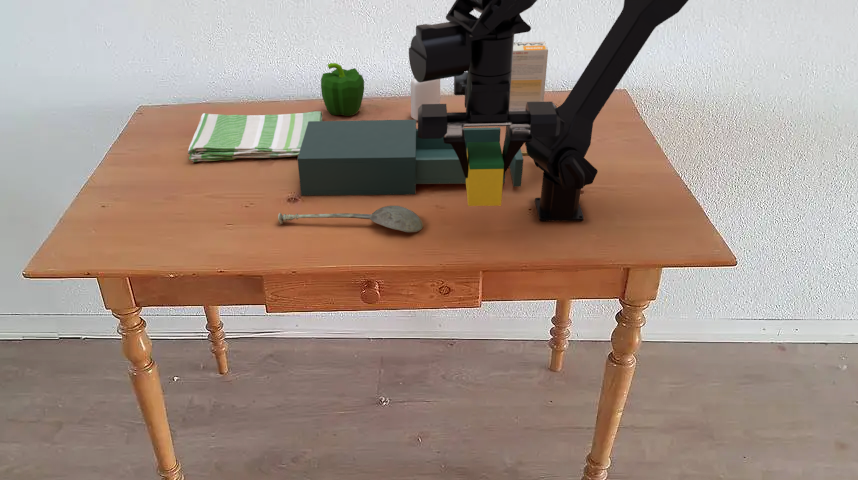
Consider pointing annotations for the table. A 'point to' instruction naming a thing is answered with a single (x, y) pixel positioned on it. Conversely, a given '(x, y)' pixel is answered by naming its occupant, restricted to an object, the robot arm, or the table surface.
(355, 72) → the bell pepper
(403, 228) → the soupspoon
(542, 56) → the supplement box
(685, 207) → the table surface
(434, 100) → the eye dropper bottle
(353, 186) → the cabinet
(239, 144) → the dish towel
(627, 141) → the table surface
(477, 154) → the sponge
